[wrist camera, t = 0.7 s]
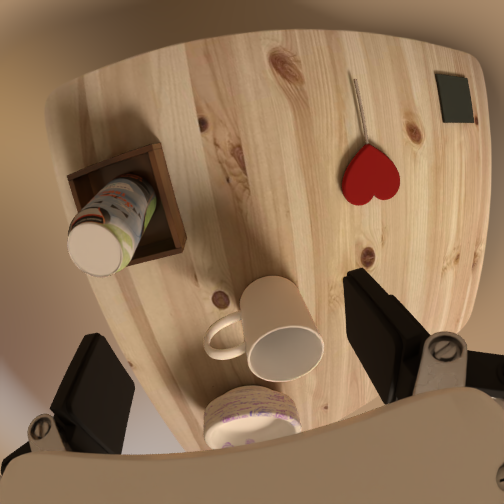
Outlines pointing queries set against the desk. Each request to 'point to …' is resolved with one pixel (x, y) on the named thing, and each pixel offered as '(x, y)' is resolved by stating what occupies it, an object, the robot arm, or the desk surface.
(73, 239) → the beverage can
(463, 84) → the coaster
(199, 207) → the desk surface
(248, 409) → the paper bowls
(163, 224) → the wooden box
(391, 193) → the lollipop
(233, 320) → the mug
